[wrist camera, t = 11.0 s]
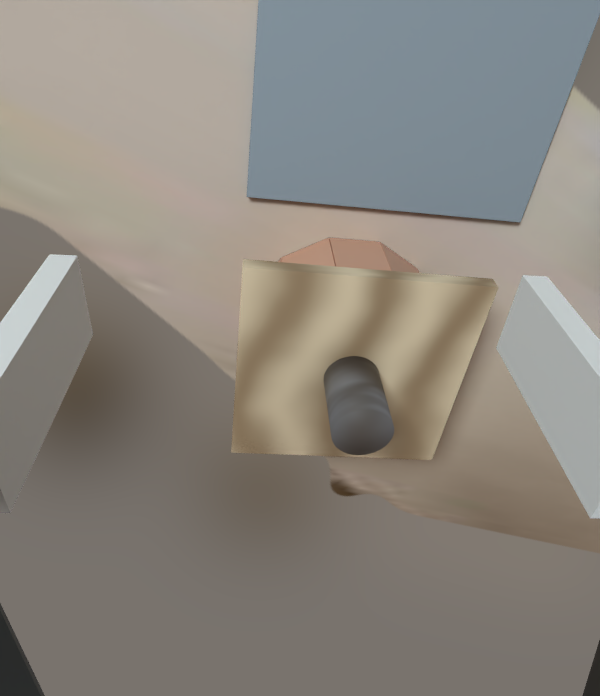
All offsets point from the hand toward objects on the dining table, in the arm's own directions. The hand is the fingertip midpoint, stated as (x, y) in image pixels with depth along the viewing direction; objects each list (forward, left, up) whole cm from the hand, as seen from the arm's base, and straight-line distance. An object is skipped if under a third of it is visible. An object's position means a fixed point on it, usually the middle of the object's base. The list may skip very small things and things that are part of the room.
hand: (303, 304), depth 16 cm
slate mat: (-9, -4, -26) cm, 28 cm away
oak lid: (-7, +18, -19) cm, 27 cm away
